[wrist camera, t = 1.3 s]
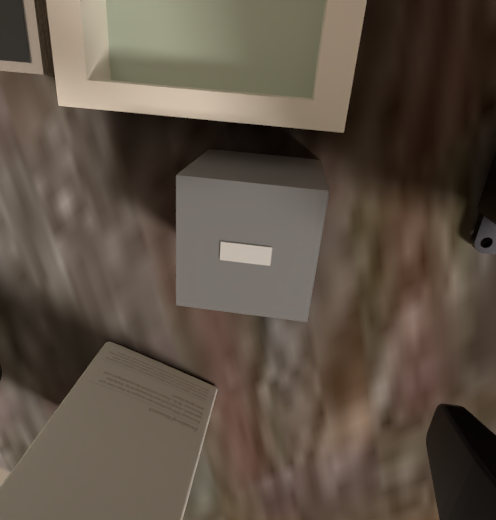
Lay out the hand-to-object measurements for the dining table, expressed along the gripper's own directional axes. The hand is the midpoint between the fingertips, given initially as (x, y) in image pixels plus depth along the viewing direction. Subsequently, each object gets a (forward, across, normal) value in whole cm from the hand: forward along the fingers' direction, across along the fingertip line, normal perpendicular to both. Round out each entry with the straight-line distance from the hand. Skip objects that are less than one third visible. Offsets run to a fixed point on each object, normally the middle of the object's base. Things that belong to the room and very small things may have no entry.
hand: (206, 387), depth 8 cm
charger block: (+12, 0, 0) cm, 12 cm away
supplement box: (+12, +6, +13) cm, 19 cm away
